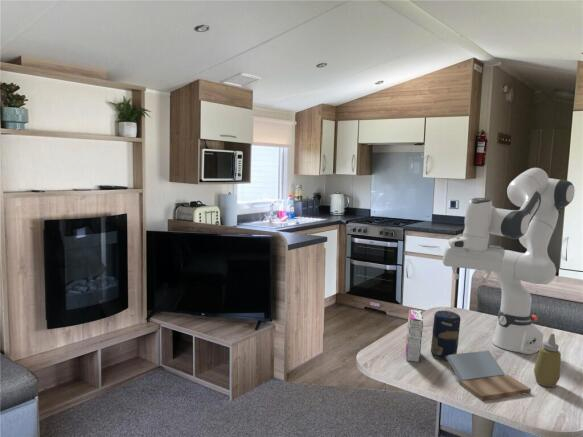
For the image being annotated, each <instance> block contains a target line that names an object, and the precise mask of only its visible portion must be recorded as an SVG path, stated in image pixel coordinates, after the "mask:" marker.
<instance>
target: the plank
mask: <svg viewBox="0 0 583 437" xmlns="http://www.w3.org/2000/svg"><path fill="white" fill-rule="evenodd" d="M446 358H447V361H448V363H449V365H450V366H451V367H452V370H453V371H454V373H455V375H456V376H457V379H458V380H459V381H460V382H461V381H466V380H473V379H480V378H488V377H495V376H503V375H506V373H505V372H504V371H503V369H502V367H501V366H500V365H499V363H498V362H497V360H496V359H495V357H494V356H493V354H492V353H491V352H490V350H483V351H481V350H480V351H472V352H471V351H470V352H464V353H463V352H462V353H457V354H453V355H448V356H447V357H446Z"/></svg>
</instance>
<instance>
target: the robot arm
mask: <svg viewBox="0 0 583 437" xmlns="http://www.w3.org/2000/svg"><path fill="white" fill-rule="evenodd" d="M548 175H549V174H548V173H547V172H546V171H545V170H544V169H543V168H539V167H531V168H529V169H526V170H525V171H523V172H522V173H520V174H518V175H517V176H516V177H515V178H514V179H513V180H511V181H510V183H509V184H508V186H507V190H506V193H507V194H506V195H507V198H508V199H509V201H510V203H512V204H513V205H514V206H516V207H519V209H517V210H516V209H515V210H514V209H512V210H511V209H504V208H500V207H499V208H498V207H495V206H494V205H493V202H492V199H489V198H486V197H474V198H472V199H470V200H468V202H467V203H468V204H467V207H466V210H465V214H464V221H463V222H464V229H463V232H462V236H457V237H453V238H449V239H448V245H447V246H446V247H445V248H444V252H443V257H442V265H444V266H445V267H451V270H452V272H453V274H454V275H453V280H460V274H458V273H457V269H458V268H459V269H466V270H468V269H469V270H477V271H485V273H486V274H485V275H484V276H481V279H480V282H481V283H484V284H487V279H488V278H489V277H490V276H491V274H492V273H493V274H494V275H495V278H497V280H498V282H499V285H500V288H501V301H500V308H499V310H498V316H497V318H498V320H497V322H496V327H495V331H494V333H493V334H492V339H491V343H492V344H493V345H495V346H496V347H498V348H501V349H503V350H506V351H510V352H515V353H521V354H525V355H531V354H535V353H539V352H538V351H539V349H540V348H542V347H543V343H544V342H545V341H544V335H543V332H542V331H541V330H540V329H539V328H538V327H537V326H535V325H534V323H533V321H535V322H536V321H537V320H538V315H534V314H531V310H532V309H531V308H532V301H533V298H532V295H531V293H530V292H529V291H528V290H527V289H526V288H525V287H524V285H523V284H522V282H526V283H529V284H534V285H549V284H550V283H552V281H553V280H555V277H556V274H557V269H556V265H555V263H554V262H553V261H552V259H551V258H550V256H549V253H548V247H549V244H550V241H551V238H552V236H553V233H554V231H555V229H556V227H557V222H558V218H559V212H560V211H562V210H564V208H565V207H567V206H568V205H570V204H571V202H572V201H573V199H574V197H575V186H574V184H573V182H572V181H569V180H566V179H558V178H557V179H556V178H550V177H549V176H548ZM490 235H494V236H501V237H505V238H507V239H508V238H509V239H511V240H519V243H520V244H521V245H522V246H523V247H524V248H525V249H526V251H525V252H518V251H514V250H509V249H505V248H504V247H502V246H501V245H493V244H489V242H490V241H489V240H490ZM521 281H522V282H521Z"/></svg>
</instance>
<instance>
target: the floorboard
mask: <svg viewBox="0 0 583 437" xmlns="http://www.w3.org/2000/svg"><path fill="white" fill-rule="evenodd" d="M460 386H461V387H462V388H463V389H464V390H466V391H468V392H469V393H470V394H472V395H473V396H474V397H476V398H477V399H478V400H480V401H489V400H493V399H500V398H506V397H507V398H508V397H514V396H513V395H515V396H519V395H518V394H521V395H524V394H523V393H528V394H530V393H531V391H532V389H531V388H530V387H528V386H527V385H526V384H524V383H523V382H521V381H519V380H517V379H516V378H514V377H512V376H510V375H509V374H505V375H503V376H495V377H488V378H480V379H473V380H466V381H460ZM529 392H530V393H529Z"/></svg>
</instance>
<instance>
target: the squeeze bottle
mask: <svg viewBox="0 0 583 437" xmlns="http://www.w3.org/2000/svg"><path fill="white" fill-rule="evenodd" d="M543 342H544V343H543V347H542V348H540V349H539V352H537V353H538V355H537V357H536V361H535V365H534V369H533V373H534V377H535V382H536V383H537V384H538V383H539V385H540V384H541V385H540V386H542V385H543V387H546V386H548V387H547V388H554V387H556V385H557V383H558V382H559V380H560V378H561V360H562V359H561V358H562V357H561V354H562V353H561V352H560V351H559V349H560V348H559V344H557V343H556V336H555V333H550V335H549V336H548V339H547V341H543ZM553 386H554V387H553Z"/></svg>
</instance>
